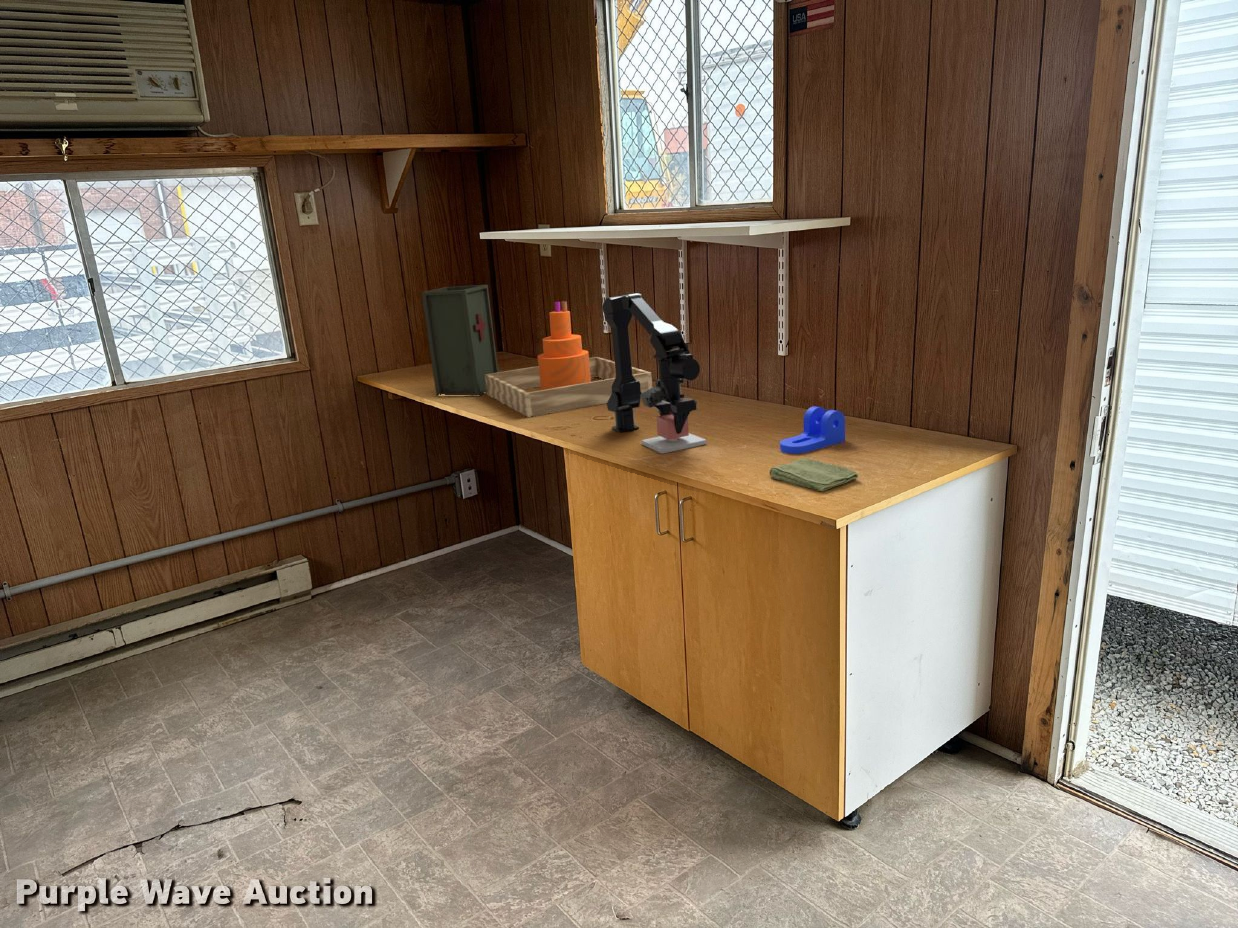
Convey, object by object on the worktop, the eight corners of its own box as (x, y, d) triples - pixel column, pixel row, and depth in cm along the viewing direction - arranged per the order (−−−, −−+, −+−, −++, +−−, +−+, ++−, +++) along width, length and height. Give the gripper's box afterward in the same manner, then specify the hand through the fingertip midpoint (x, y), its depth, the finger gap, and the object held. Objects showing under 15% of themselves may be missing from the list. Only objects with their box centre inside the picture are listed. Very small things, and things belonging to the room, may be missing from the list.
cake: (533, 401, 300) (535, 302, 291) (540, 392, 318) (541, 298, 309) (590, 404, 300) (593, 305, 290) (593, 394, 318) (596, 300, 309)
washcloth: (823, 495, 186) (823, 482, 185) (766, 479, 200) (765, 466, 199) (861, 481, 193) (862, 468, 192) (804, 466, 207) (803, 454, 206)
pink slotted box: (657, 435, 235) (656, 416, 233) (677, 430, 237) (676, 412, 236) (668, 439, 229) (667, 420, 228) (688, 435, 232) (687, 416, 230)
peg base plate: (641, 444, 236) (640, 428, 235) (684, 435, 242) (684, 419, 240) (661, 453, 226) (660, 436, 225) (706, 444, 231) (705, 427, 230)
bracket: (822, 436, 231) (821, 404, 228) (845, 441, 224) (845, 408, 221) (773, 450, 222) (772, 417, 219) (795, 456, 215) (795, 422, 212)
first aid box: (479, 396, 320) (465, 290, 308) (436, 396, 325) (421, 292, 314) (500, 385, 336) (487, 284, 325) (459, 386, 342) (445, 287, 331)
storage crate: (487, 395, 320) (484, 374, 318) (599, 376, 339) (597, 356, 336) (528, 417, 279) (525, 394, 277) (652, 394, 298) (651, 372, 295)
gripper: (627, 375, 233) (632, 429, 238) (659, 385, 217) (663, 443, 222) (663, 369, 238) (666, 422, 242) (696, 379, 221) (699, 436, 226)
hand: (672, 431), depth 233 cm, fingers closed on pink slotted box, 6 cm apart
